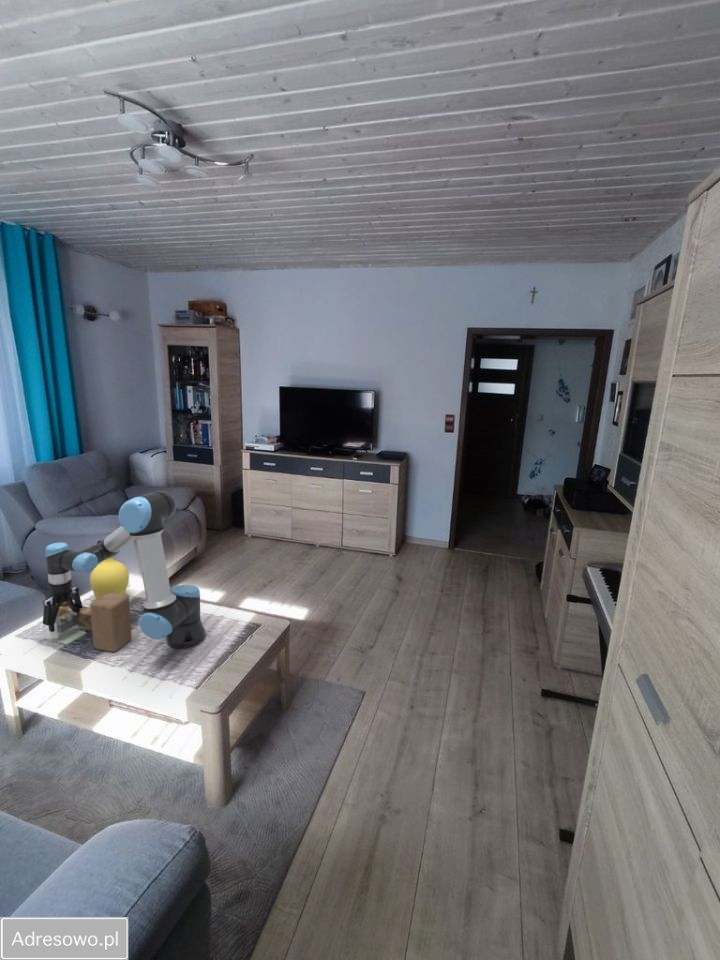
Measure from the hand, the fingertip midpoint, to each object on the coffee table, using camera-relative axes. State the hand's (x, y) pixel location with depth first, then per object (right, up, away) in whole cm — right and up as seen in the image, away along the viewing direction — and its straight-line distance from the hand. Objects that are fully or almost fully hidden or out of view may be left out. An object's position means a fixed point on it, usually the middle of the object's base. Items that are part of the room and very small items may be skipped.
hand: (65, 631), depth 177 cm
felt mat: (0, -2, 0) cm, 2 cm away
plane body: (+1, 0, +10) cm, 10 cm away
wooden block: (+22, -4, -3) cm, 22 cm away
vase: (+1, +4, +31) cm, 32 cm away
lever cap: (0, +2, 0) cm, 2 cm away
